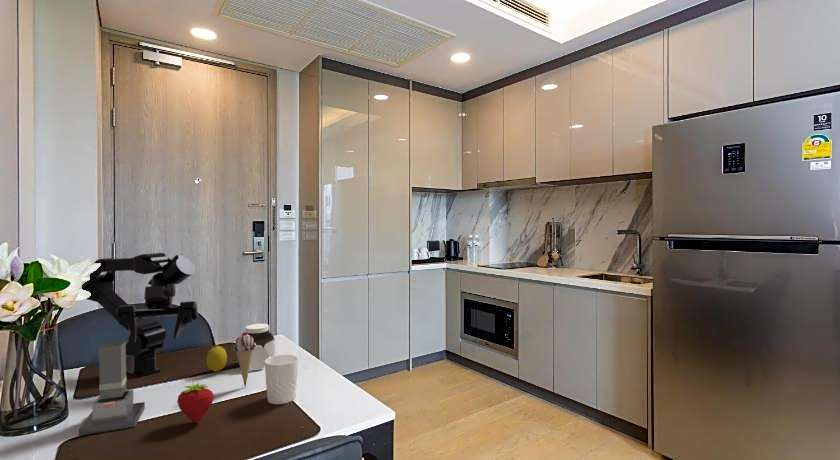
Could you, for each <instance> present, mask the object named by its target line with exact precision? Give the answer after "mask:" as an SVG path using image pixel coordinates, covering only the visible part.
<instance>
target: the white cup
mask: <svg viewBox="0 0 840 460" xmlns="http://www.w3.org/2000/svg"><path fill="white" fill-rule="evenodd" d="M298 358H299V357H298V356H296V355H293V354H279V355H278V354H277V355H274V356H273V357H270V358H268V359H266V360H265V367H264V370H265V371H264V373H265V386H266V387H265V388H266V393H267V402H268V404H269V403H270V404H272V405H283V404H288V403H290V402H293V401H294V400H295V399H296V397H297V395H296V391H297V381H298V360H299V359H298Z"/></svg>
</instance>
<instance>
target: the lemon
mask: <svg viewBox="0 0 840 460" xmlns="http://www.w3.org/2000/svg"><path fill="white" fill-rule="evenodd" d="M227 363H228V355H227V351H226V349H224V348H223V346H219V345H215V346H214V347H212V348H211V349H210V350H208V352H207V354H206V366H207V367H208V369H209V370H211V371H212V372H215V373H216V374H217V373H219V372H220V371H221V370H223V369H224V368H225V367H226V365H227Z"/></svg>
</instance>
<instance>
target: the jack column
mask: <svg viewBox="0 0 840 460" xmlns="http://www.w3.org/2000/svg"><path fill="white" fill-rule="evenodd" d="M126 344H127V343H126V340H122V341H110V342H103V344H101V345H100V347H98V362H99V364H98V365H99V367H98V368H99V371H98V372H99V387H98V388H99V396H100V399H106V398H114V397H121V396H122V395H123V394H124V393H125V391H126V390H127V362H126V361H127V360H126V358H127V355H126Z"/></svg>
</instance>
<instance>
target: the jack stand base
mask: <svg viewBox="0 0 840 460" xmlns="http://www.w3.org/2000/svg"><path fill="white" fill-rule="evenodd" d="M145 404H146V403H145V401H143V402H142V401H141V402H136V403H134V389H126V391H125V393H124V394H123V395H122V396H121V397H114V398H106V399H100V395H99V396H98V397H97V398H96V399H95V400H94V402H93V403H92V405H91V407H92V408H91V412H90V413H89V415H88V416H87V417H86V419H85V420H84V421H83V422H82V424H81V425H80V426H79V428H78V436H80V437H81V436H87V435H92V434H98V433H104V432H112V431H117V430H118V431H119V430H124V429H131V428H136V426H137V424H138V422H139V421H140V419H141V416H142V415H143V413H144V411H145V409H146V405H145Z"/></svg>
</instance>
